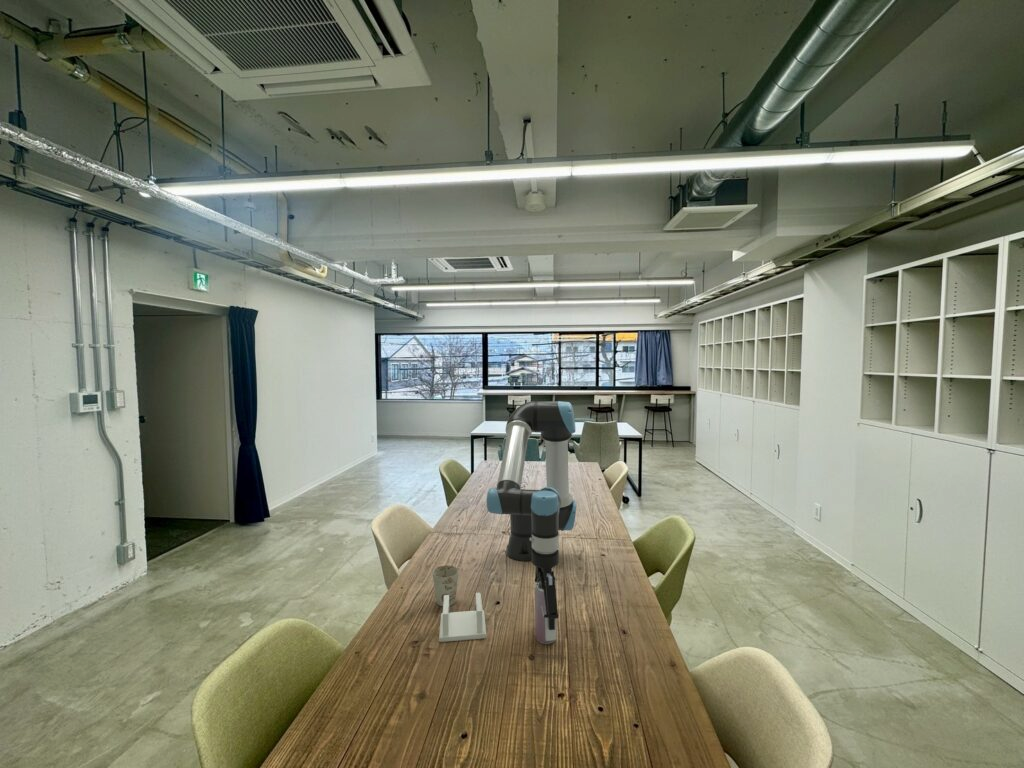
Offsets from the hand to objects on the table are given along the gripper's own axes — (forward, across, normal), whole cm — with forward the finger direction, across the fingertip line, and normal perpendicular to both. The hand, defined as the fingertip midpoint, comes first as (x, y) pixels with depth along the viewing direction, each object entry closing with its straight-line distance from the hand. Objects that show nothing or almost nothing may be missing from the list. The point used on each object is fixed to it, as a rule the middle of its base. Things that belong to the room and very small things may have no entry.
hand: (545, 624), depth 118 cm
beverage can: (+4, 0, 0) cm, 4 cm away
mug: (+4, -25, -29) cm, 38 cm away
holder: (+4, -8, -23) cm, 25 cm away
